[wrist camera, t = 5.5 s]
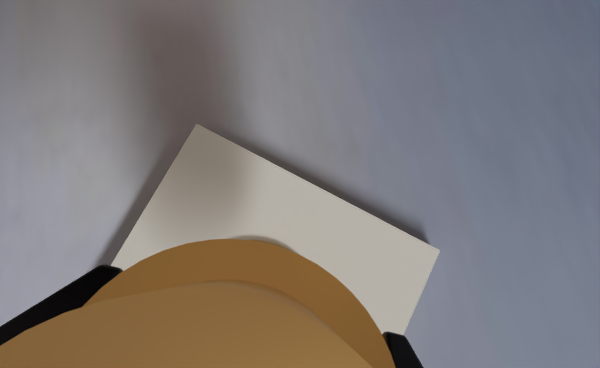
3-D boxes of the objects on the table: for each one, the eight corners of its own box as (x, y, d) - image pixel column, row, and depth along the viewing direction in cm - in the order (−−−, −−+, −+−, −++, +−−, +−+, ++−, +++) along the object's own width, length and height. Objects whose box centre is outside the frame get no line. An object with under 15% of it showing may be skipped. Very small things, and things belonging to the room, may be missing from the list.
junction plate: (312, 523, 20) (316, 539, 19) (49, 379, 20) (35, 386, 19) (432, 251, 23) (441, 250, 21) (199, 129, 23) (195, 122, 22)
